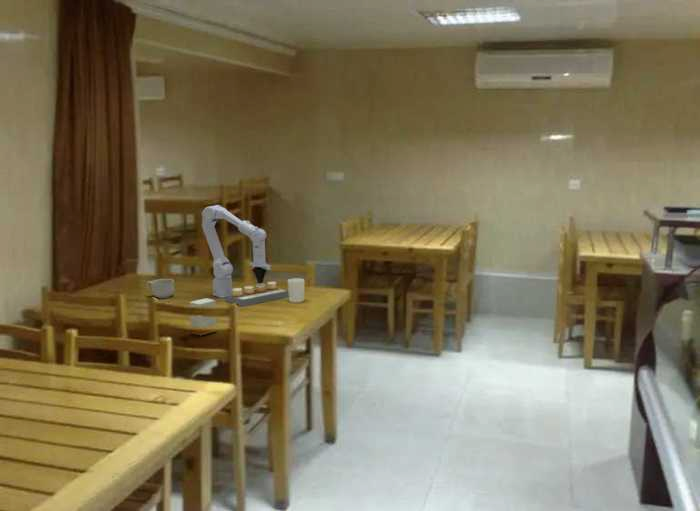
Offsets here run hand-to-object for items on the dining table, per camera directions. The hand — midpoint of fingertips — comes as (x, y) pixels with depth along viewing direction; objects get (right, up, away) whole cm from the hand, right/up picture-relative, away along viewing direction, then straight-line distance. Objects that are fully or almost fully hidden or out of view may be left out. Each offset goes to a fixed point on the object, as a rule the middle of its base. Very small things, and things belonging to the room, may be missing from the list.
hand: (260, 282), depth 317 cm
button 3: (0, -5, +1) cm, 5 cm away
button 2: (-5, -6, -3) cm, 8 cm away
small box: (-14, -18, -57) cm, 61 cm away
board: (-1, -8, -2) cm, 8 cm away
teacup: (-49, -7, +7) cm, 50 cm away
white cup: (+18, -8, -7) cm, 21 cm away
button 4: (+5, -4, +5) cm, 8 cm away
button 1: (-10, -6, -8) cm, 14 cm away
